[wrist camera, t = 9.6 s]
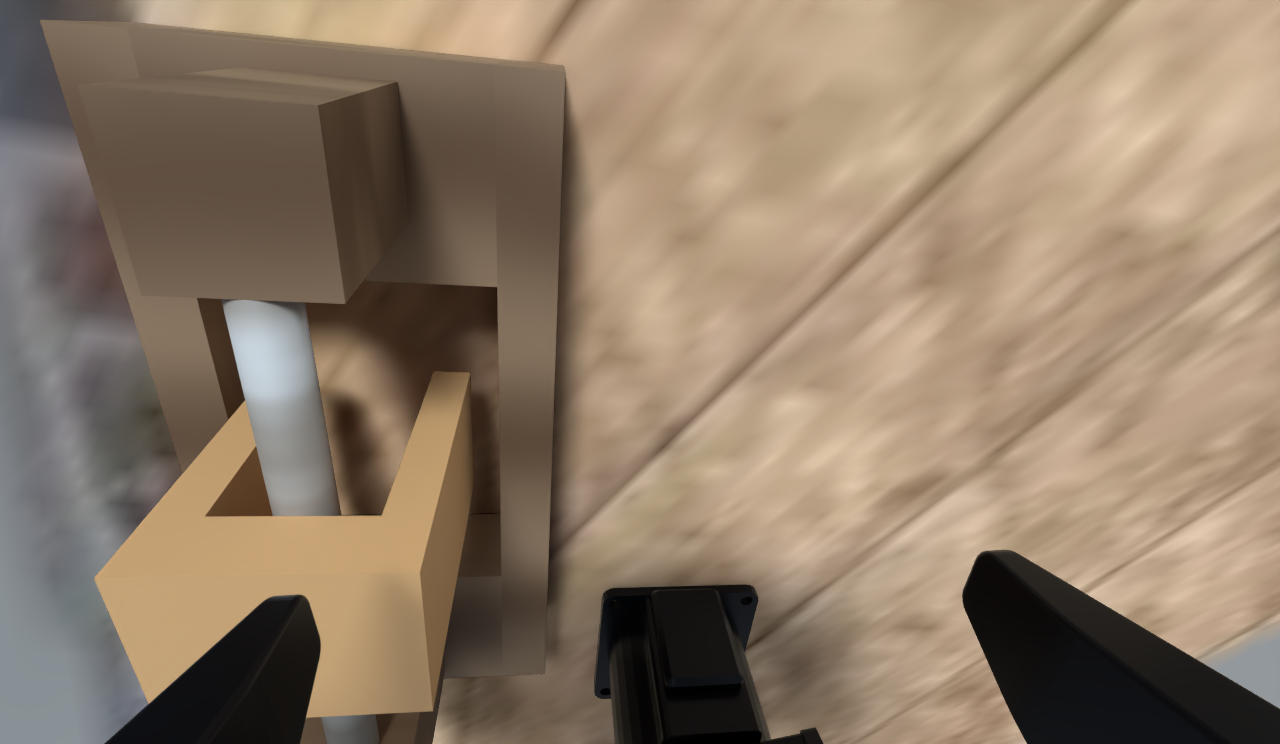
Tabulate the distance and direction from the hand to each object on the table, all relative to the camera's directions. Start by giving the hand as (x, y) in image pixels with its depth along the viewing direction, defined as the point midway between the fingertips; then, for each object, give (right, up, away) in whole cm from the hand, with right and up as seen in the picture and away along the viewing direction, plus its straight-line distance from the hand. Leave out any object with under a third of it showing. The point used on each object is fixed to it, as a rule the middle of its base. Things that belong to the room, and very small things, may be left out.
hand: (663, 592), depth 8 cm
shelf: (-8, +2, +12) cm, 14 cm away
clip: (-8, +1, +10) cm, 13 cm away
